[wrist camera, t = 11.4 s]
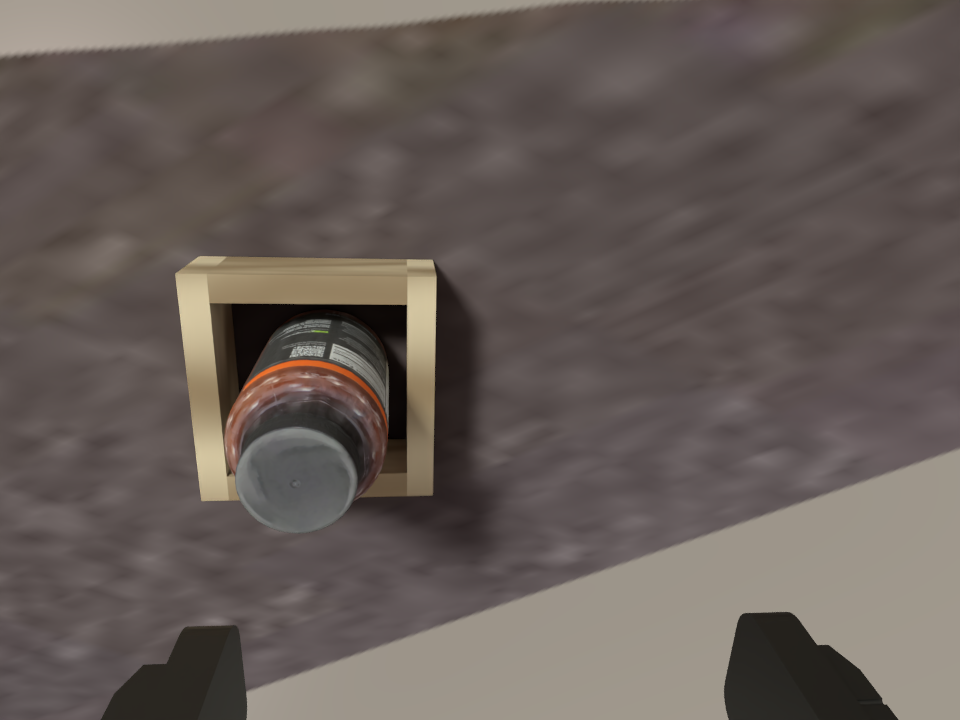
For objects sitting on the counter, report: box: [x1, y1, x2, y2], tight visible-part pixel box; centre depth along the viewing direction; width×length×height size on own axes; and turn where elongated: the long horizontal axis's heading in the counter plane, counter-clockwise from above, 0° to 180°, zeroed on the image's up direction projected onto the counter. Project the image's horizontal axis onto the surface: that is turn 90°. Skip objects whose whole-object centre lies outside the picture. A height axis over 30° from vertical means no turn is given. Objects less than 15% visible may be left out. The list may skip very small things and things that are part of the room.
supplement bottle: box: [224, 309, 389, 534], centre depth 28 cm, size 6×6×11 cm
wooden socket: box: [175, 256, 436, 501], centre depth 31 cm, size 10×10×4 cm
